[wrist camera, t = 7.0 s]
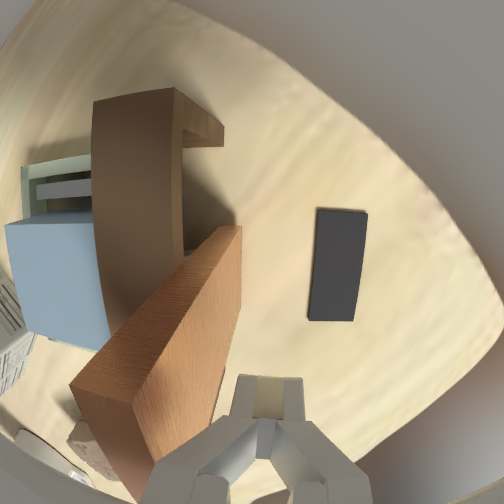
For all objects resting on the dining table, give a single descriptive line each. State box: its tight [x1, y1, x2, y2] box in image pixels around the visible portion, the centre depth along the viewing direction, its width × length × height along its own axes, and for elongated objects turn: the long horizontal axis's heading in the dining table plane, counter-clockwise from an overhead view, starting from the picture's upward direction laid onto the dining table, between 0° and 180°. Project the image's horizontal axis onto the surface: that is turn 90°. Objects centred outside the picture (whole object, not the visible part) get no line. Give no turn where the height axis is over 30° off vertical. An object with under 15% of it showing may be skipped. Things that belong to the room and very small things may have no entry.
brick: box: [67, 420, 122, 482], centre depth 22 cm, size 17×8×5 cm, turn 119°
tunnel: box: [91, 87, 225, 426], centre depth 14 cm, size 16×3×8 cm, turn 179°
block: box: [4, 208, 111, 351], centre depth 16 cm, size 7×8×6 cm
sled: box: [36, 178, 242, 503], centre depth 11 cm, size 11×14×13 cm
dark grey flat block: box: [308, 210, 368, 321], centre depth 17 cm, size 7×3×1 cm, turn 179°
